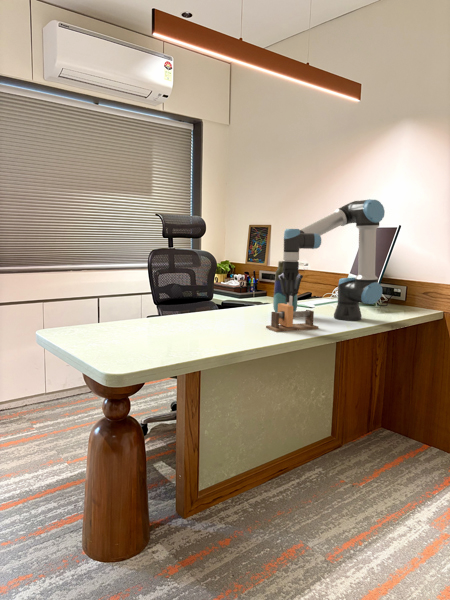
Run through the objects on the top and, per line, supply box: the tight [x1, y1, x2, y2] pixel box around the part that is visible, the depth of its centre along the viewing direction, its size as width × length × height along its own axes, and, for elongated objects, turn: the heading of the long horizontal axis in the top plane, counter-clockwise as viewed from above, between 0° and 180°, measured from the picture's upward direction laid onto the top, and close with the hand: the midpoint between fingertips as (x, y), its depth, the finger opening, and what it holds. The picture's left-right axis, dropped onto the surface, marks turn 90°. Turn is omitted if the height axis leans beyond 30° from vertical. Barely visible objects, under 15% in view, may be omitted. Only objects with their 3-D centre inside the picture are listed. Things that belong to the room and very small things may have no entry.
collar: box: [278, 303, 294, 327], centre depth 226 cm, size 3×10×10 cm, turn 22°
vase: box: [272, 260, 298, 312], centre depth 266 cm, size 14×14×31 cm
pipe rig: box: [265, 309, 320, 333], centre depth 228 cm, size 24×10×9 cm, turn 112°
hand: (289, 308), depth 227 cm, fingers closed
